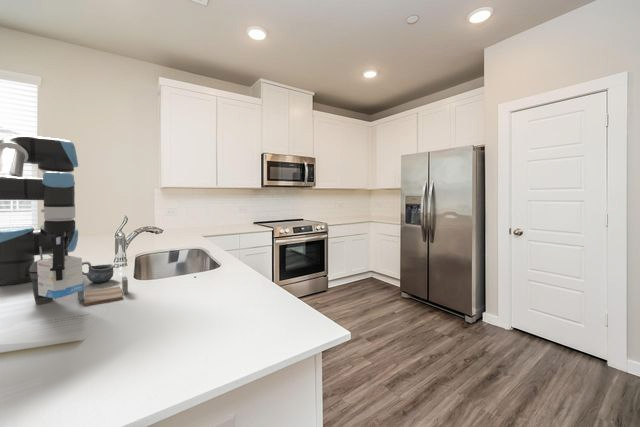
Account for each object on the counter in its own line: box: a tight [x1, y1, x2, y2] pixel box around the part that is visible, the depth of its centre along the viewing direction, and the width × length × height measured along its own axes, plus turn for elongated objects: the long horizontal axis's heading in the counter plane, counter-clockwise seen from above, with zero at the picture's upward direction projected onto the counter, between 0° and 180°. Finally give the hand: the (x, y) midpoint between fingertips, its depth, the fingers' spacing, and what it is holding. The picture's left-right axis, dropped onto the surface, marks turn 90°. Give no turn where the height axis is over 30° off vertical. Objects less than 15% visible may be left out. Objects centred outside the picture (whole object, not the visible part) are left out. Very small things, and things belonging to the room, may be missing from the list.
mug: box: [82, 261, 115, 284], centre depth 122 cm, size 10×12×10 cm
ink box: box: [36, 254, 84, 300], centre depth 92 cm, size 9×8×13 cm
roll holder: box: [77, 275, 129, 306], centre depth 106 cm, size 15×15×6 cm
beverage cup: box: [29, 247, 54, 305], centre depth 99 cm, size 7×7×20 cm
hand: (61, 284), depth 92 cm, fingers closed on ink box, 11 cm apart
